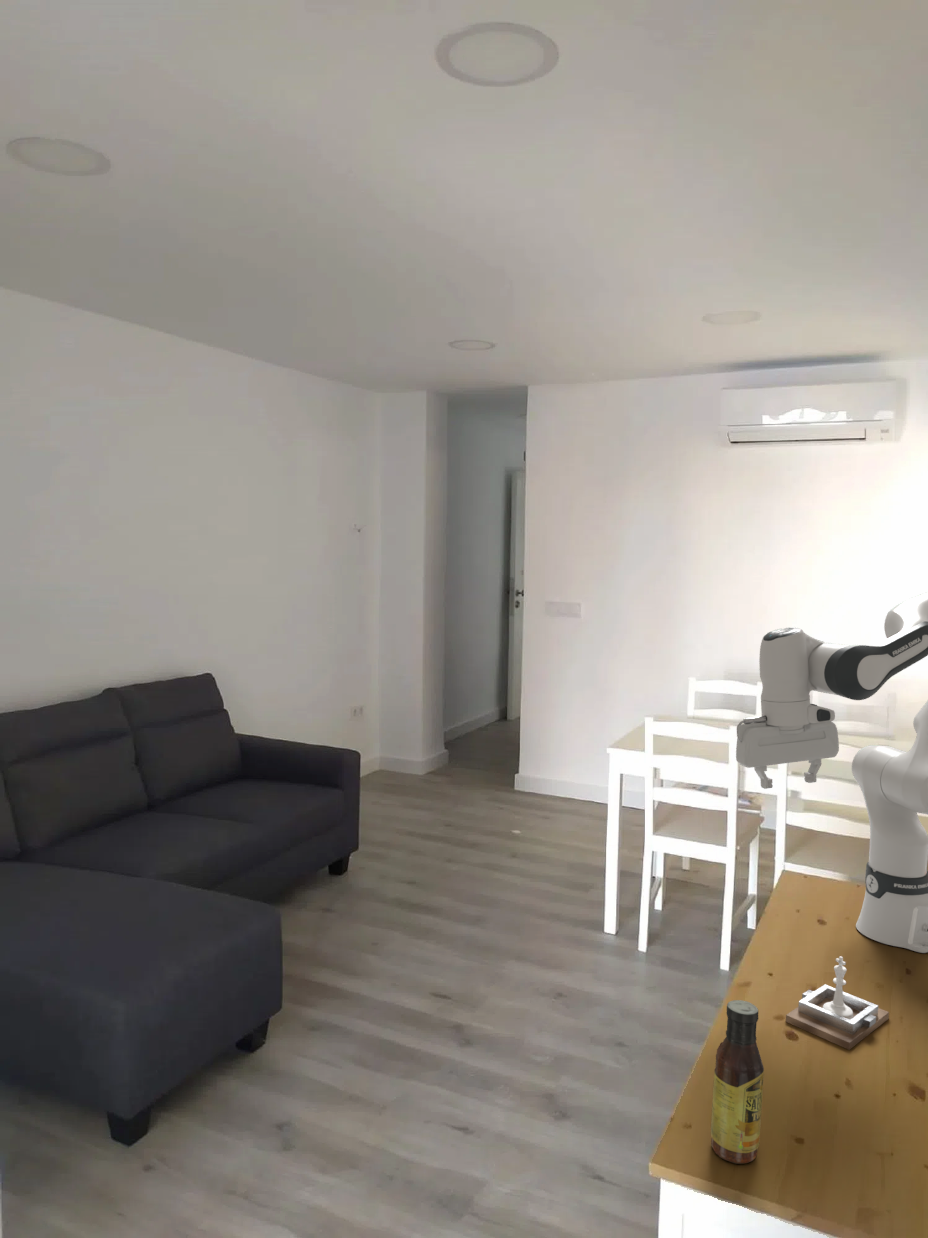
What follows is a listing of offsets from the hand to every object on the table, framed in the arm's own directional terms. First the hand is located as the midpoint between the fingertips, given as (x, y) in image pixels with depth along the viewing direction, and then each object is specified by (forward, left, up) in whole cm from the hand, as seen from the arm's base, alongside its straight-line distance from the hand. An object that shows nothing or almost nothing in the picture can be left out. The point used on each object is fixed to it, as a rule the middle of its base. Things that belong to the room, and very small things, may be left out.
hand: (788, 785), depth 171 cm
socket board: (+1, +21, -36) cm, 41 cm away
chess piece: (+1, +21, -35) cm, 40 cm away
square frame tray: (+1, +21, -34) cm, 40 cm away
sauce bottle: (+36, +48, -36) cm, 70 cm away
